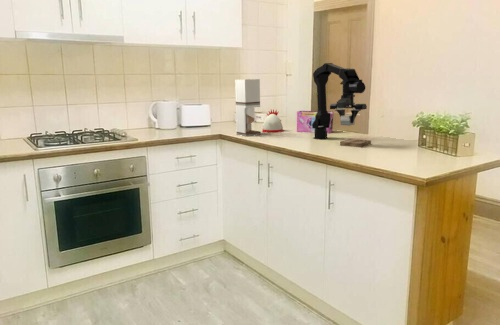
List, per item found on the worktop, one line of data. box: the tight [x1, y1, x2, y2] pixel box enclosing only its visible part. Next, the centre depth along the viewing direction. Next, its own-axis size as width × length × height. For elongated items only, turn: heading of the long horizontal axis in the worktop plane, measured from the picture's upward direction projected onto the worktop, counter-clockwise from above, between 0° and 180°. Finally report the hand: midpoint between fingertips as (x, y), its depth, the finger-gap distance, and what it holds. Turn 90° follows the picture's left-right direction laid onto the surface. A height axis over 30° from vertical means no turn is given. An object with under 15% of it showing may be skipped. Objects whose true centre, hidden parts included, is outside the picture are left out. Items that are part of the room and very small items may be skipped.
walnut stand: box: [339, 138, 372, 148], centre depth 219 cm, size 12×12×2 cm
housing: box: [340, 114, 356, 127], centre depth 219 cm, size 5×6×5 cm
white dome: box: [262, 109, 284, 134], centre depth 279 cm, size 14×14×15 cm
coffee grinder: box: [234, 78, 262, 137], centre depth 262 cm, size 11×11×35 cm
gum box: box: [296, 110, 334, 134], centre depth 271 cm, size 24×8×14 cm, turn 60°
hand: (347, 122), depth 219 cm, fingers closed on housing, 5 cm apart
